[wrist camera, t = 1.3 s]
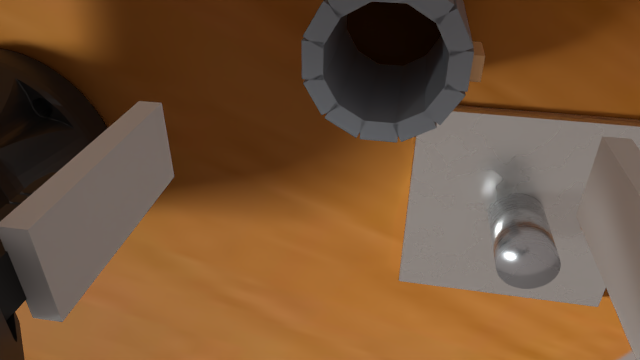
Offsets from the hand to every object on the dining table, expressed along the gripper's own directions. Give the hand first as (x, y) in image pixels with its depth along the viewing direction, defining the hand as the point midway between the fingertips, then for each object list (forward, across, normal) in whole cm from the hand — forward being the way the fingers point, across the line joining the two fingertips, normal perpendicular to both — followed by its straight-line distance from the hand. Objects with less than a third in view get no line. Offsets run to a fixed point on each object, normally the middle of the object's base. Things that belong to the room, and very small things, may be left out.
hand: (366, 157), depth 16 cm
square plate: (+16, +9, -12) cm, 22 cm away
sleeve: (+16, 0, 0) cm, 17 cm away
